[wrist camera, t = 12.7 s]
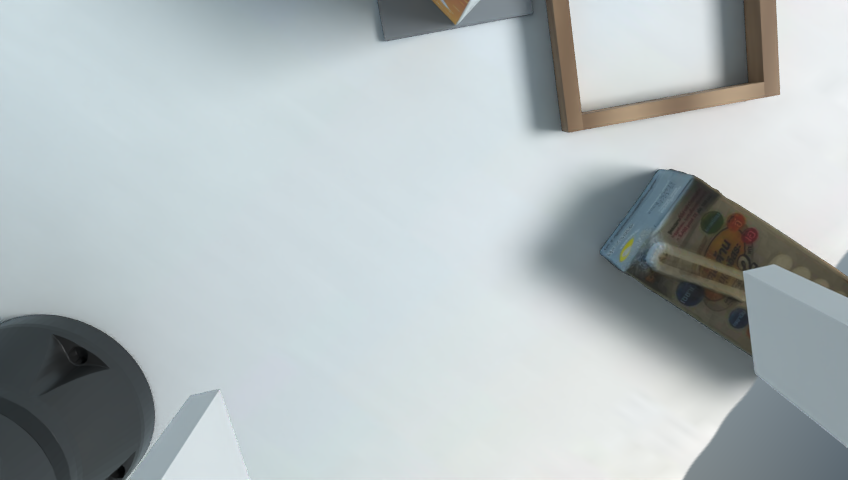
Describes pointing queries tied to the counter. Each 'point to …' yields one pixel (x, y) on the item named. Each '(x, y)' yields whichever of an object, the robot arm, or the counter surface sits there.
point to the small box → (455, 8)
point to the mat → (442, 16)
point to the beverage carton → (706, 252)
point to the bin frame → (759, 85)
